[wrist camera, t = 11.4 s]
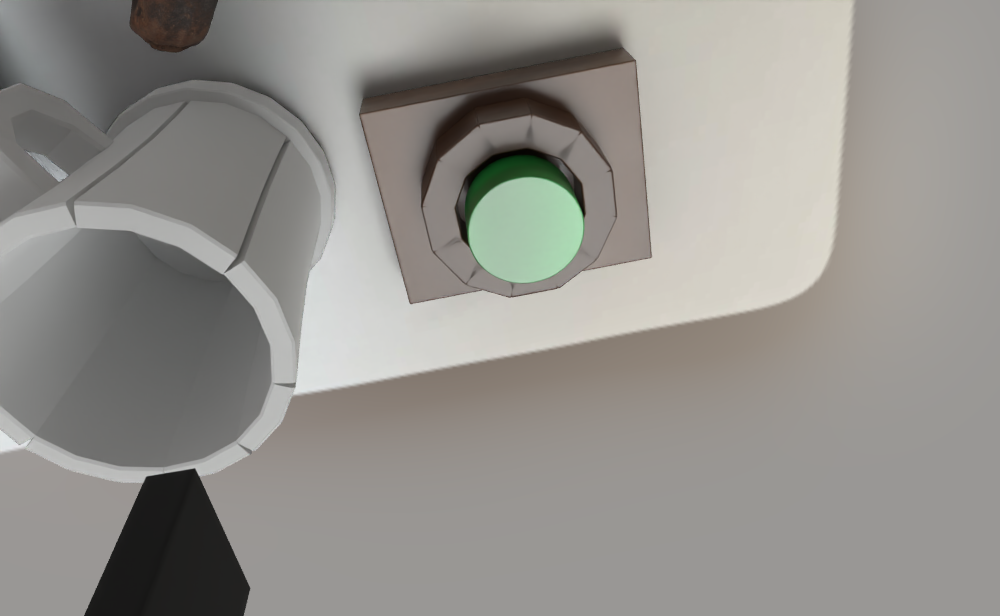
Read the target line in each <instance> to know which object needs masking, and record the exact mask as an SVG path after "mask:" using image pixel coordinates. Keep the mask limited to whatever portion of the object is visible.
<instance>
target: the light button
mask: <svg viewBox="0 0 1000 616" xmlns="http://www.w3.org/2000/svg"><path fill="white" fill-rule="evenodd" d="M465 219H466V228H467V236H468V243H469V247H470V250H471V252H472V254H473V256H474V258H475V259H476V261H477V262H478V263H479V265H480V266H481V267H482V268H483V269H484V270H486V271H487V272H488V273H490V274H491V275H493V276H495V277H497V278H499V279H501V280H504V281H508V282H512V283H534V282H538V281H542V280H545V279H547V278H550V277H552V276H554V275H556V274H557V273H559V272H560V271H562V270H563V269H564V268H565V267H566V266H567V265H568V264H569V263H570V262H571V261H572V260H573V258H574V257H575V255H576V254H577V252H578V250H579V248H580V246H581V243H582V240H583V236H584V217H583V213H582V210H581V207H580V205H579V203H578V200H577V198H576V196H575V193H574V191H573V189H572V187H571V184H570V183H569V181H568V179H567V177H566V176H565V175H564V173H563V172H562V171H561V170H560V169H559V168H558V167H556V166H555V165H554V164H552V163H551V162H549V161H547V160H545V159H543V158H540V157H536V156H532V155H513V156H508V157H504V158H501V159H499V160H496V161H495V162H493V163H491V164H489V165H488V166H487V167H485V168H484V169H483V170H482V171H481V172H480V173H479V174H478V175H477V176H476V177H475V179H474V180H473V182H472V183H471V185H470V187H469V189H468V192H467V195H466V199H465Z"/></svg>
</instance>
